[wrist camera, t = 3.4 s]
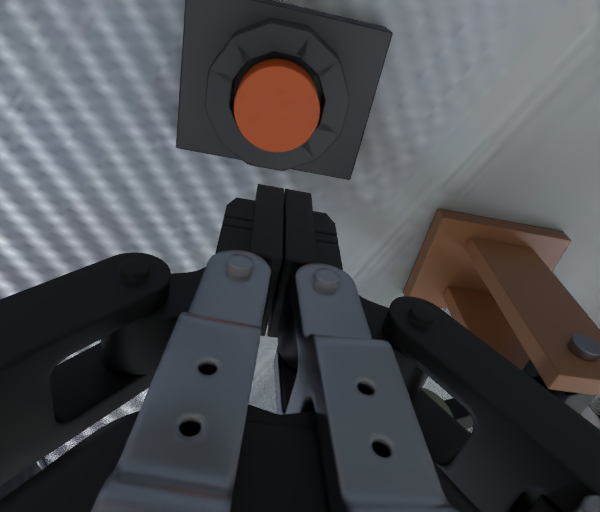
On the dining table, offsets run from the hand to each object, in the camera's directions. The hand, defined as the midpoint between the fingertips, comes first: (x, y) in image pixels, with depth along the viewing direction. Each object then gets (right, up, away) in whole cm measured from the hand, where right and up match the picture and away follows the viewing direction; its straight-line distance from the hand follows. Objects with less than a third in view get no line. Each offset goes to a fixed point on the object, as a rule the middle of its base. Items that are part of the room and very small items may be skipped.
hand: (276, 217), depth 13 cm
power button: (0, +7, +10) cm, 12 cm away
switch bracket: (+13, -2, +19) cm, 24 cm away
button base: (-1, +8, +12) cm, 15 cm away
